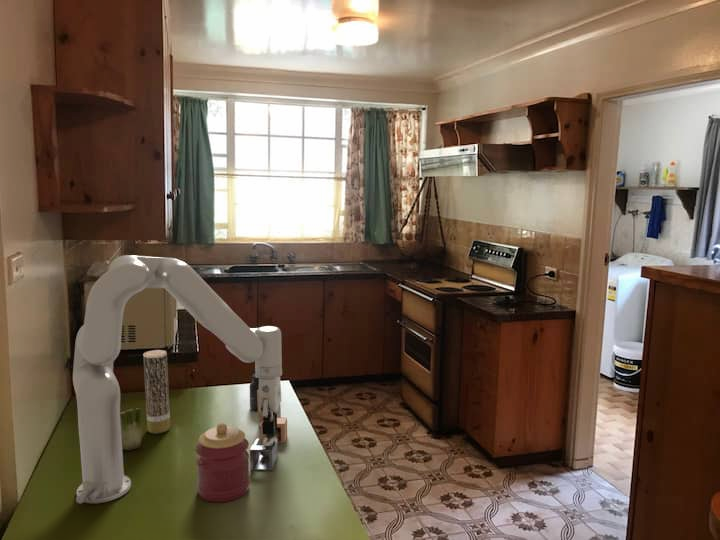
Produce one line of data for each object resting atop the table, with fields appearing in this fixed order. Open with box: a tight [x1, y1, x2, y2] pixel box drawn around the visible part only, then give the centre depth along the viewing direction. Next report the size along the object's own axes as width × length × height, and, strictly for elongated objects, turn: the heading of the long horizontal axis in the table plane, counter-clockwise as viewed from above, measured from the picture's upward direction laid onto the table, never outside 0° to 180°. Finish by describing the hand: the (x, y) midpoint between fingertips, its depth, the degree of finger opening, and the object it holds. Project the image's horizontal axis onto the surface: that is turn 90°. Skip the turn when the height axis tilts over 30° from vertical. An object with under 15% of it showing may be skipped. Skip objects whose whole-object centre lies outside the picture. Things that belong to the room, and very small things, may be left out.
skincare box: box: [257, 390, 282, 428], centre depth 184 cm, size 6×4×12 cm
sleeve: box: [249, 438, 279, 471], centre depth 160 cm, size 8×6×6 cm
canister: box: [195, 422, 251, 503], centre depth 145 cm, size 13×13×18 cm
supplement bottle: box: [249, 373, 259, 413], centre depth 198 cm, size 7×7×12 cm
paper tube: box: [143, 349, 171, 435], centre depth 180 cm, size 7×7×25 cm
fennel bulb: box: [120, 407, 143, 451], centre depth 168 cm, size 6×5×12 cm
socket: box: [260, 417, 288, 444], centre depth 175 cm, size 4×7×6 cm, turn 88°
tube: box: [260, 414, 280, 457], centre depth 168 cm, size 12×4×10 cm, turn 178°
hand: (269, 429), depth 168 cm, fingers open, 4 cm apart
